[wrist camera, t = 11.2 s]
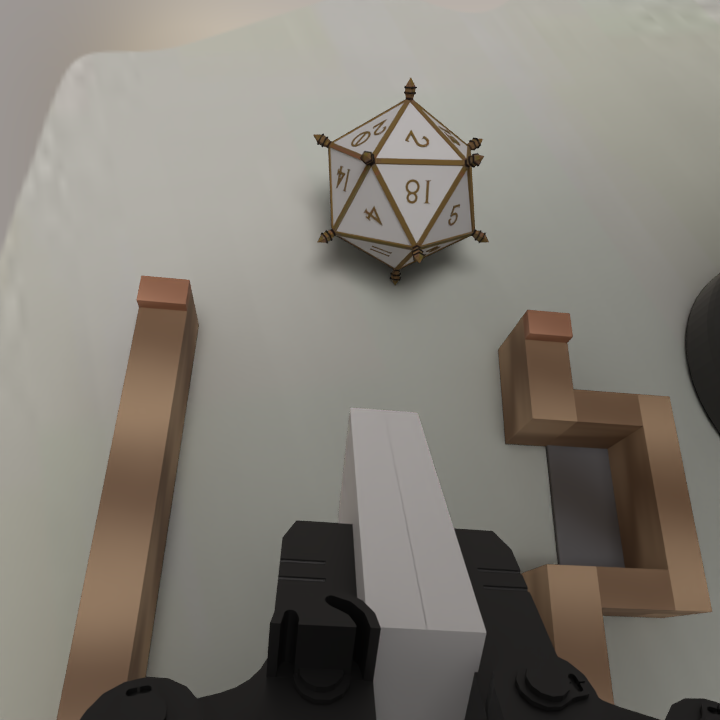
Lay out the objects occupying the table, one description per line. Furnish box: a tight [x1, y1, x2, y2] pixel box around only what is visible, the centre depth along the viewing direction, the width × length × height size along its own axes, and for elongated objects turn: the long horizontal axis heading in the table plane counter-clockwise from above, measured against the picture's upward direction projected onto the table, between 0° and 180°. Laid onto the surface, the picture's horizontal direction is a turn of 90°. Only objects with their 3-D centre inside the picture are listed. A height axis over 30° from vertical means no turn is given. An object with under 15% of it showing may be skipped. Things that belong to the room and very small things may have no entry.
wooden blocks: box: [57, 276, 712, 720], centre depth 26 cm, size 18×24×4 cm
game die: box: [314, 78, 488, 285], centre depth 31 cm, size 9×8×10 cm
